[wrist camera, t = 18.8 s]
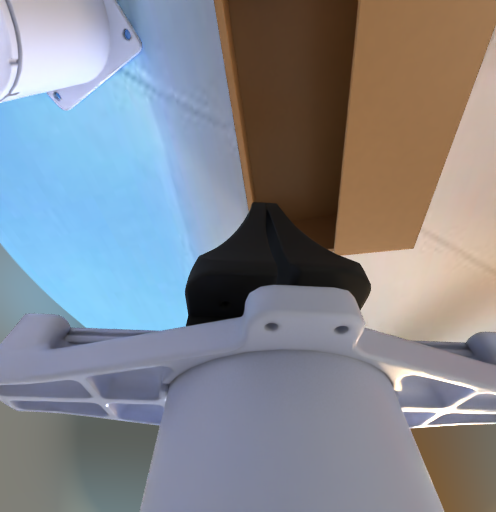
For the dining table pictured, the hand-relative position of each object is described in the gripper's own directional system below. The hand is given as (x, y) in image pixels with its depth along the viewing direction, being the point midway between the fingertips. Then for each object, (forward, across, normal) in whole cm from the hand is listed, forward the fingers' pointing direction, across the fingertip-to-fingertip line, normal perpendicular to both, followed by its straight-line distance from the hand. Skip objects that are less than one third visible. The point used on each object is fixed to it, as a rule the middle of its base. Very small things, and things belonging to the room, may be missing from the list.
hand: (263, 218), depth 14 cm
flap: (+4, -8, -4) cm, 10 cm away
